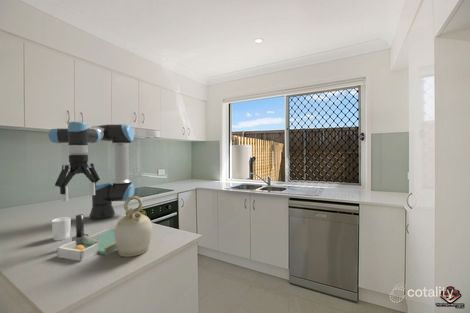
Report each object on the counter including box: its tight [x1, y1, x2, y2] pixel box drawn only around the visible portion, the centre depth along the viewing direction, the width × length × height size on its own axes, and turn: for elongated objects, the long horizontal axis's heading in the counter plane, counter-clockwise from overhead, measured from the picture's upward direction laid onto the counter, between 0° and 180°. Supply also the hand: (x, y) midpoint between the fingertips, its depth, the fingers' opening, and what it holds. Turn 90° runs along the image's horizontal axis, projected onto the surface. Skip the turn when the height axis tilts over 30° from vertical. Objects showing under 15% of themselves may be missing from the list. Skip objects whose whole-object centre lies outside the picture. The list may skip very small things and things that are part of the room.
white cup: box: [51, 216, 72, 241], centre depth 112 cm, size 8×8×10 cm
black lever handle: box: [71, 213, 100, 244], centre depth 102 cm, size 5×14×12 cm, turn 74°
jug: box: [114, 195, 153, 258], centre depth 97 cm, size 15×16×25 cm
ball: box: [74, 245, 85, 250], centre depth 94 cm, size 4×4×4 cm
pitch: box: [76, 227, 118, 255], centre depth 108 cm, size 22×24×3 cm
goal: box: [56, 240, 99, 262], centre depth 93 cm, size 8×14×4 cm, turn 74°
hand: (79, 197), depth 104 cm, fingers open, 13 cm apart
